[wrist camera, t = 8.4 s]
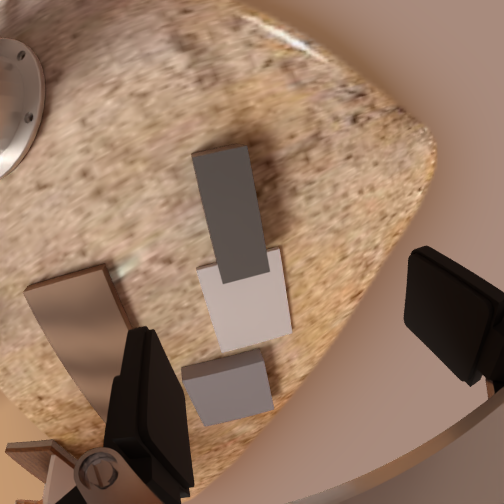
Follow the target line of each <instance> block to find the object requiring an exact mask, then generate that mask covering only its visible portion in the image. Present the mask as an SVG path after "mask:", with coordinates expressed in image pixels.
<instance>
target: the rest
mask: <svg viewBox="0 0 504 504" xmlns="http://www.w3.org/2000/svg"><path fill="white" fill-rule="evenodd" d="M23 294H24V296H25V298H26V300H27V302H28V304H29V306H30V308H31V310H32V312H33V314H34V316H35V318H36V320H37V321H38V323H39V325H40V327H41V329H42V330H43V332H44V334H45V336H46V338H47V339H48V341H49V343H50V344H51V346H52V348H53V349H54V351H55V353H56V354H57V356H58V358H59V359H60V361H61V362H62V364H63V365H64V367H65V369H66V370H67V372H68V373H69V375H70V376H71V378H72V379H73V380H74V382H75V383H76V385H77V386H78V388H79V389H80V391H81V392H82V393H83V395H84V396H85V397H86V399H87V400H88V402H89V403H90V404H91V406H92V407H93V408H94V409H95V411H96V412H97V413H98V415H99V416H100V417H101V418H102V420H103V421H104V422H105V423H106V421H107V414H108V407H109V400H110V394H111V388H112V382H113V379H114V377H115V376H117V375H120V371H121V365H122V360H123V354H124V349H125V343H126V338H127V333H128V330H131V329H132V326H131V324H130V322H129V320H128V318H127V315H126V313H125V311H124V309H123V306H122V304H121V302H120V299H119V297H118V295H117V292H116V290H115V287H114V285H113V282H112V280H111V277H110V275H109V272H108V270H107V267H106V264H102V265H98V266H95V267H91V268H88V269H84V270H81V271H77V272H74V273H70V274H67V275H63V276H60V277H56V278H53V279H50V280H46V281H43V282H40V283H36V284H33V285H29V286H27V288H26V289H25V290H24V291H23Z"/></svg>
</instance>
